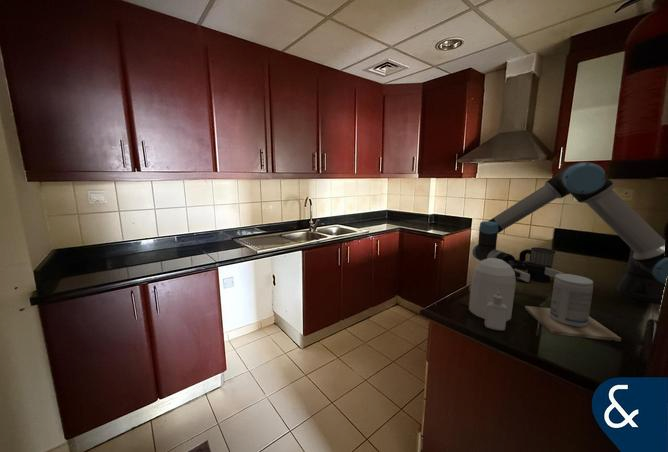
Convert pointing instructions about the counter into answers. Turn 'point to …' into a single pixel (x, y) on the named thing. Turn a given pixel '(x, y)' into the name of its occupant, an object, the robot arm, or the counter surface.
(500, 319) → the eye dropper bottle
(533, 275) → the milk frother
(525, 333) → the counter surface
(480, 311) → the container
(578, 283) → the supplement tub
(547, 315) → the board
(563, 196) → the robot arm
